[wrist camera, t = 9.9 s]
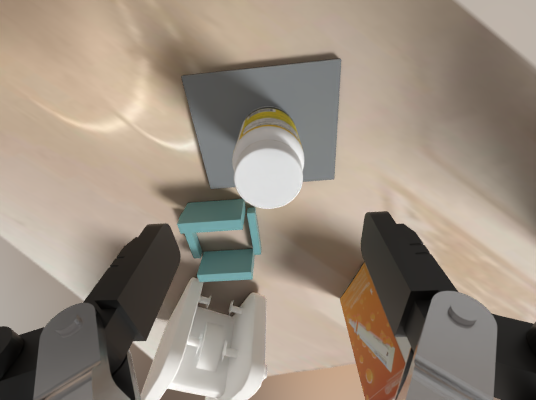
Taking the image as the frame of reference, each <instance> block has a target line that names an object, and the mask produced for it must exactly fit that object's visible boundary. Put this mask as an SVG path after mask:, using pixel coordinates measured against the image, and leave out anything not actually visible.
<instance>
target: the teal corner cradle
mask: <svg viewBox="0 0 536 400" xmlns="http://www.w3.org/2000/svg"><path fill="white" fill-rule="evenodd" d="M245 210H246V206H245V201H244V199H233V200H219V201H206V202H193V203H187V205H186V207H185V209H184V211H183V213H181V215H180V217H179V221H178V223H177V225H178V228H179V230H180V233H181V234H183V233H185V236H186V239H187V241H188V244H189V247H190V249H191V252H192V255H193V257H194V258H201V255H202V249H201V246H200V243H199V240H198V237H197V234H196V233H198V232H213V231H228V230H243V224H244V217H245ZM247 217H248V222H249V228H250V233H251V239H252V245H253V249H241V250H225V251H209V252H204V254H203V257H202V260H201V263H200V266H199V270H198V273H197V277H198V280H199V282H212V281H230V280H249V279H253V268H254V255H259V254H261V242H260V236H259V229H258V223H257V216H256V209H255V207H253V208H248V209H247ZM253 250H254V251H253Z"/></svg>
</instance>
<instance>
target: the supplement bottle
mask: <svg viewBox="0 0 536 400" xmlns="http://www.w3.org/2000/svg"><path fill="white" fill-rule="evenodd" d="M232 164H233V169H234V183H235V187H236V189H237V191H238V193H239V195H240V196H241V197H242V198H243V199H244V200H245V201H246V202H248V203H249V204H251V205H253V206H255V207H259V208H264V209H273V208H278V207H282V206H284V205H286V204H288V203H289V202H291V201H292V200H293V199H294V198H295V197H296V196H297V195H298V193H299V191H300V189H301V187H302V183H303V173H302V171H303V168H304V153H303V149H302V146H301V142H300V139H299V136H298V133H297V130H296V127H295V124H294V122H293V120H292V118H291V117H290V116H289V115H288V114H287V113H286V112H285V111H283V110H282V109H280V108H277V107H272V106H264V107H260V108H257V109H255V110H254V111H252V112H251V113H250V114H249V115H248V116H247V117H246V118H245V120H244V122H243V124H242V127H241V130H240V133H239V137H238V140H237V143H236V146H235V149H234V152H233V158H232Z"/></svg>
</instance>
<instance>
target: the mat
mask: <svg viewBox="0 0 536 400" xmlns="http://www.w3.org/2000/svg"><path fill="white" fill-rule="evenodd" d="M340 72H341V59H330V60H321V61H312V62H302V63H293V64H284V65H275V66H266V67H256V68H247V69H238V70H229V71H220V72H210V73H201V74H192V75H183V76H181V78H182V81H183V85H184V89H185V93H186V97H187V101H188V104H189V108H190V112H191V116H192V120H193V123H194V127H195V131H196V135H197V139H198V142H199V146H200V150H201V154H202V158H203V162H204V165H205V169H206V173H207V177H208V181H209V184H210V188H211V189H217V188H230V187H235V183H234V169H233V164H232V158H233V152H234V149H235V146H236V143H237V140H238V137H239V133H240V130H241V127H242V124H243V122H244V120H245V118H246V117H247V116H248V115H249V114H250V113H251V112H252V111H254V110H255V109H257V108H260V107H264V106H272V107H277V108H280V109H282V110H283V111H285V112H286V113H287V114H288V115H289V116H290V117H291V118H292V120H293V122H294V124H295V127H296V130H297V133H298V136H299V139H300V142H301V146H302V149H303V153H304V168H303V171H302V173H303V182H306V181H319V180H332V179H334V174H335V157H336V140H337V123H338V106H339V89H340Z"/></svg>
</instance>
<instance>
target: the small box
mask: <svg viewBox="0 0 536 400" xmlns="http://www.w3.org/2000/svg"><path fill="white" fill-rule="evenodd" d="M340 302H341V305H342V309H343V313H344V317H345V321H346V325H347V329H348V333H349V337H350V341H351V345H352V349H353V353H354V357H355V361H356V365H357V368H358V372H359V377H360V381H361V384H362V388H363V392H364V396H365V400H394V398H395V395H396V392H397V389H398V385H399V382H400V379H401V376H402V373H403V369H404V366H405V363H406V360H407V357H408V353H409V350H410V348H411V346H410V343H409V341H408V339H407V337H394V334H393V332H392V329H391V327H390V324H389V322H388V319H387V317H386V314H385V312H384V309H383V306H382V304H381V301H380V299H379V296H378V294H377V291H376V289H375V286H374V284H373V281H372V279H371V276H370V274H369V271H368V269H367V266H366V264H365V262H364V263H363V265H362V267H361V269H360V270H359V272H358V273H357V275H356V276H355V278H354V279H353V281H352V282H351V284H350V285H349V287H348V288H347V290H346V291H345V293H344V294H343V295H342V297H341V298H340Z"/></svg>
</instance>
